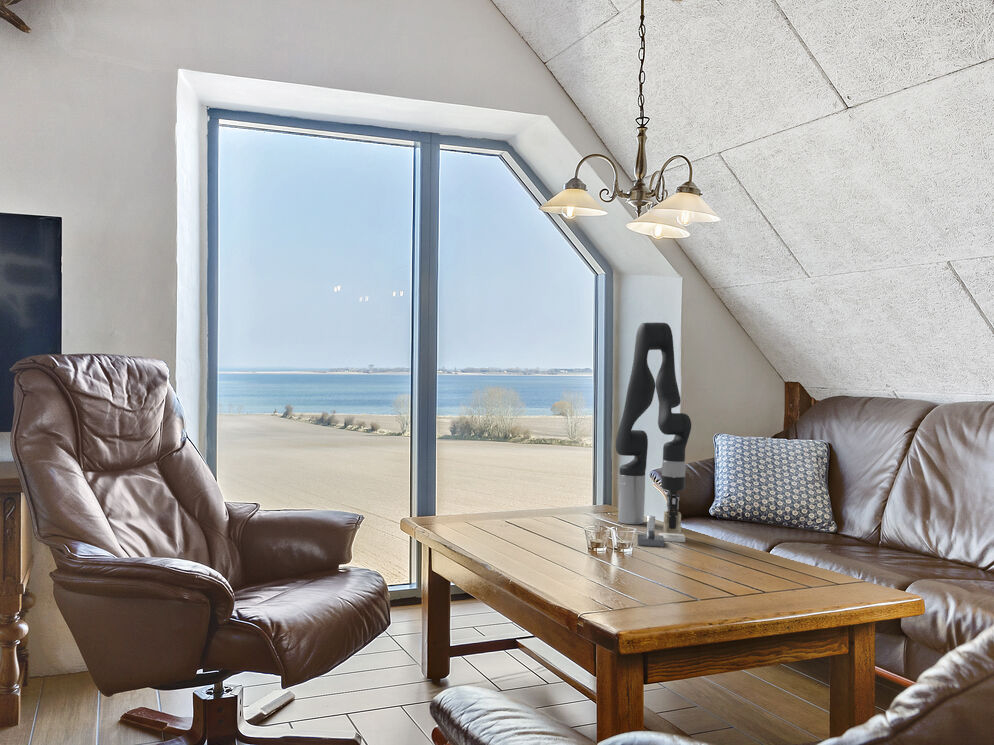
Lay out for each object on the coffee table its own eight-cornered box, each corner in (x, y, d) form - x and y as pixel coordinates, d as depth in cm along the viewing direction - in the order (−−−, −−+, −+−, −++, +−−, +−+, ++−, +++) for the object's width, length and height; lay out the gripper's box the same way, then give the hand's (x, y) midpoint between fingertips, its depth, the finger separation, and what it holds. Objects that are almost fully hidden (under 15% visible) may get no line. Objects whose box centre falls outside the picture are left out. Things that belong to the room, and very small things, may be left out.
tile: (658, 535, 272) (658, 532, 272) (683, 537, 270) (683, 534, 270) (659, 540, 264) (659, 537, 264) (685, 542, 262) (685, 538, 262)
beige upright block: (663, 529, 270) (663, 511, 270) (679, 530, 269) (680, 511, 269) (664, 532, 265) (664, 513, 265) (680, 533, 264) (681, 514, 264)
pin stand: (637, 540, 263) (638, 513, 263) (662, 541, 262) (663, 515, 262) (637, 545, 255) (638, 517, 255) (663, 546, 254) (664, 519, 254)
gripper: (660, 471, 275) (659, 522, 275) (662, 476, 261) (660, 530, 261) (683, 472, 274) (682, 523, 273) (686, 477, 259) (685, 531, 259)
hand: (671, 526), depth 267 cm, fingers closed on beige upright block, 5 cm apart
